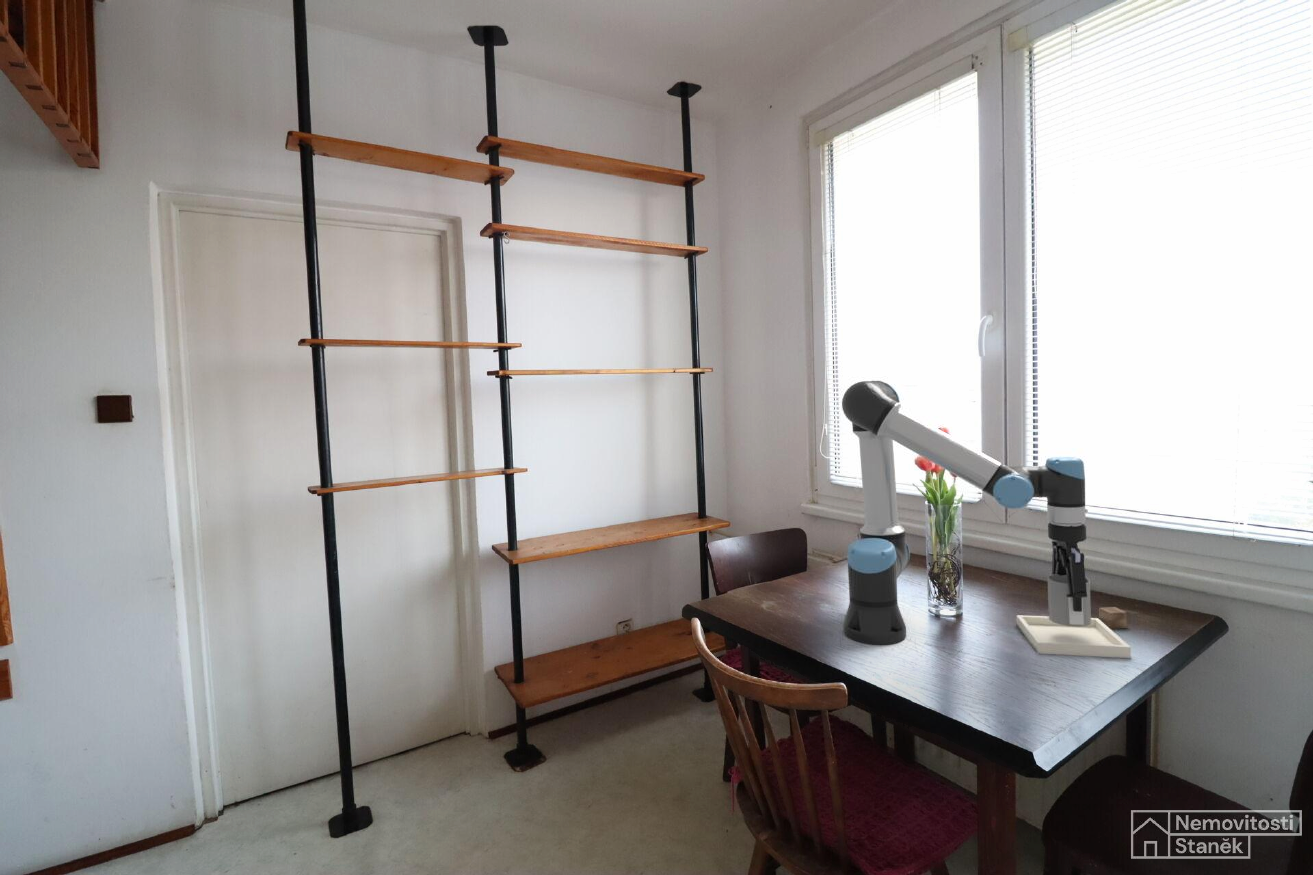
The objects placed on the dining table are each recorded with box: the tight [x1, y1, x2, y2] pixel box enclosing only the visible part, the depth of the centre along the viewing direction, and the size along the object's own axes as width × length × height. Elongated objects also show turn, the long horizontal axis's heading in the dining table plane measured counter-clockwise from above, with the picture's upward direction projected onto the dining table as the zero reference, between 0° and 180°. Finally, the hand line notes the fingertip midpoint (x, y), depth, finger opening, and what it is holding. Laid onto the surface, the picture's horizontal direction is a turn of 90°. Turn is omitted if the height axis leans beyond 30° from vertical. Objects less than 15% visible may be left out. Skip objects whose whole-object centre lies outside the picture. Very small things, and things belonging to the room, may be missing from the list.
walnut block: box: [1098, 606, 1128, 630], centre depth 154 cm, size 4×4×4 cm
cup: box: [1047, 574, 1092, 627], centre depth 147 cm, size 8×8×10 cm
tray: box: [1016, 614, 1132, 659], centre depth 147 cm, size 18×18×2 cm
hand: (1069, 616), depth 147 cm, fingers closed on cup, 8 cm apart
